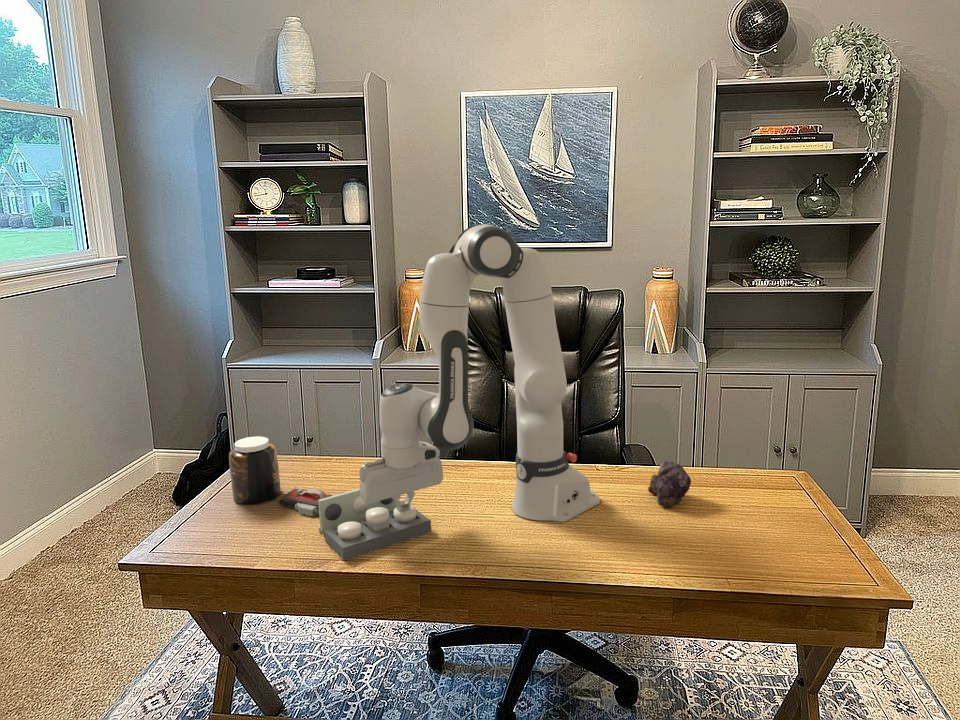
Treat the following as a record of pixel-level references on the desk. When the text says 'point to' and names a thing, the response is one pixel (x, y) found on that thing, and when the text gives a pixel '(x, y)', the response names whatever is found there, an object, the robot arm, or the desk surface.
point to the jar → (254, 471)
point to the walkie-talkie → (304, 500)
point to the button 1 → (349, 530)
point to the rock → (669, 484)
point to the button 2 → (405, 515)
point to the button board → (377, 536)
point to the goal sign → (347, 509)
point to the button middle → (377, 519)
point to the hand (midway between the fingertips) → (403, 509)
